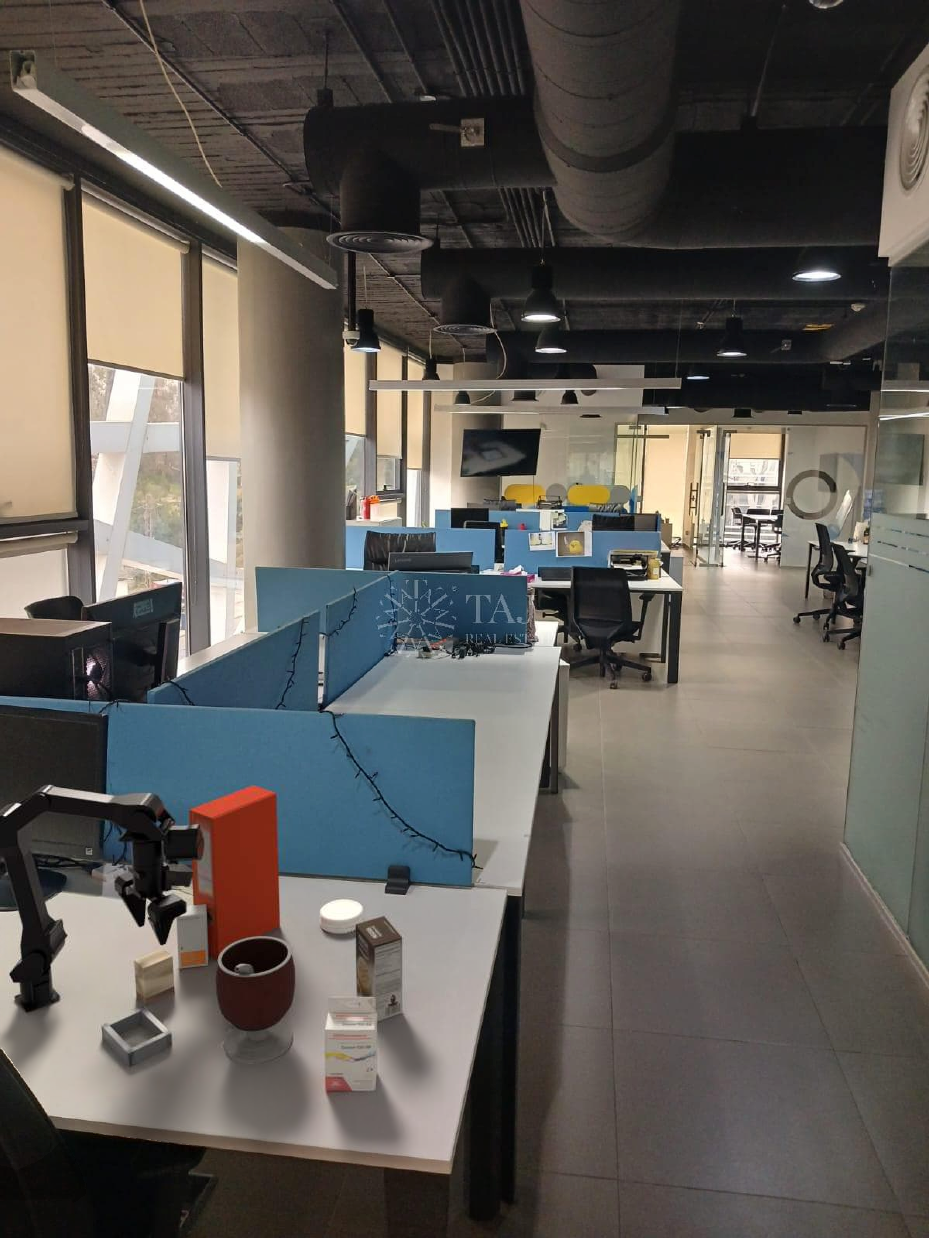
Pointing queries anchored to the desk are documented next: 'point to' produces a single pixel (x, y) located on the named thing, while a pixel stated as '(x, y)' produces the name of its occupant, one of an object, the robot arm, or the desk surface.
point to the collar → (144, 1049)
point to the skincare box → (193, 937)
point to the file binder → (238, 866)
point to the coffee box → (379, 965)
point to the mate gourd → (256, 997)
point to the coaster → (341, 916)
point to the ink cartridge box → (351, 1045)
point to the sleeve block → (154, 976)
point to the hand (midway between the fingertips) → (152, 935)
